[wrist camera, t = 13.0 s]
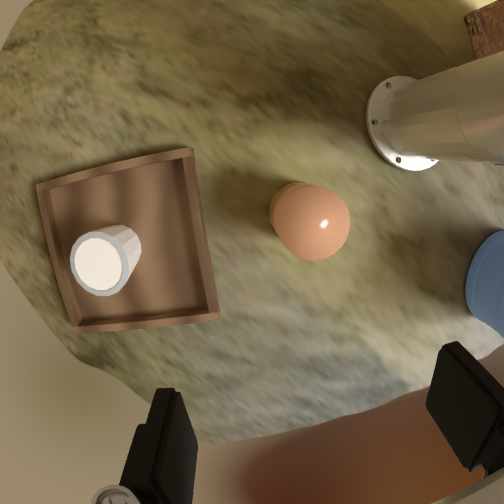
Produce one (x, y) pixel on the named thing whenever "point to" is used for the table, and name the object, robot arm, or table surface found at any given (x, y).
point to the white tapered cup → (105, 259)
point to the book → (487, 30)
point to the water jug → (487, 283)
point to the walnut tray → (149, 233)
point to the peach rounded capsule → (309, 220)
